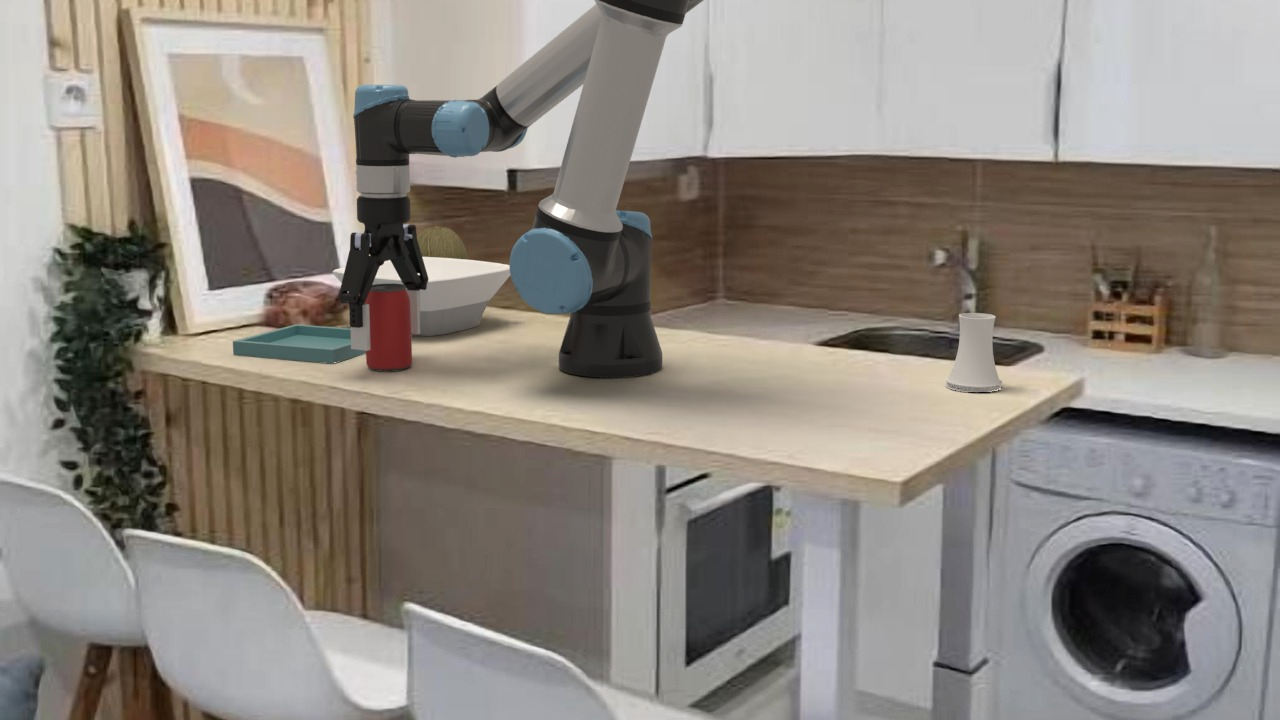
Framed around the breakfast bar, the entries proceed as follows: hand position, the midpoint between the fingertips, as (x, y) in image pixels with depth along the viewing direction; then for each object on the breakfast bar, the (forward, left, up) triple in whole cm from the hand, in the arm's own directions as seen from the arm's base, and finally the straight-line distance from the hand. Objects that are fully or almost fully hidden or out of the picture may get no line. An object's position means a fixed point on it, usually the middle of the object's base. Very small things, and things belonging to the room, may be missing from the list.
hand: (386, 341), depth 201 cm
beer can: (0, 0, -4) cm, 4 cm away
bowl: (+12, -31, -4) cm, 33 cm away
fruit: (+21, -51, -4) cm, 55 cm away
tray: (+18, -7, -4) cm, 19 cm away
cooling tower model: (-81, -19, -4) cm, 84 cm away
